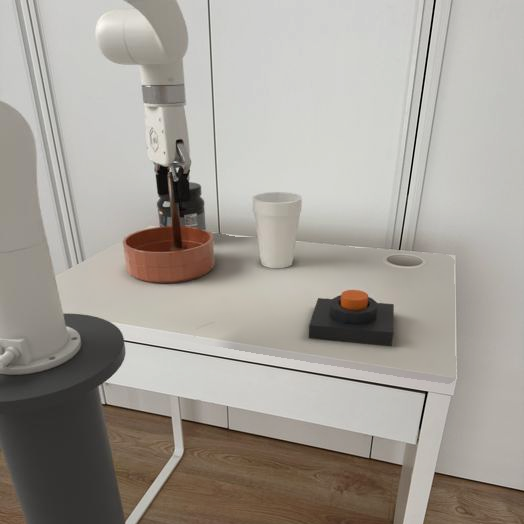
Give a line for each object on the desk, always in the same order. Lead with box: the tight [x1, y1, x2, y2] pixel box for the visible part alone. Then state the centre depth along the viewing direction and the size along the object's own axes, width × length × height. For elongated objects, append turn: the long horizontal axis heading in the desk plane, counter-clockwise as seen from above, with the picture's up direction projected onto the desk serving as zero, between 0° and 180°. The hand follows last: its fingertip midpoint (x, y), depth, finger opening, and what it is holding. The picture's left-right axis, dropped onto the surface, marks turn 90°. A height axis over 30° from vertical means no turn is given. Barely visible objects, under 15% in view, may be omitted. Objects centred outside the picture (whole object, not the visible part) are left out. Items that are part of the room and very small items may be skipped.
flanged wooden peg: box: [167, 171, 187, 252], centre depth 102 cm, size 4×4×16 cm
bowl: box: [122, 226, 216, 284], centre depth 102 cm, size 17×17×6 cm
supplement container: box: [156, 181, 207, 230], centre depth 116 cm, size 10×10×12 cm
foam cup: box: [252, 191, 303, 269], centre depth 102 cm, size 10×9×13 cm
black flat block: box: [308, 294, 395, 347], centre depth 79 cm, size 10×12×4 cm
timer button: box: [340, 289, 369, 310], centre depth 77 cm, size 4×4×2 cm
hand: (173, 197), depth 101 cm, fingers open, 7 cm apart
